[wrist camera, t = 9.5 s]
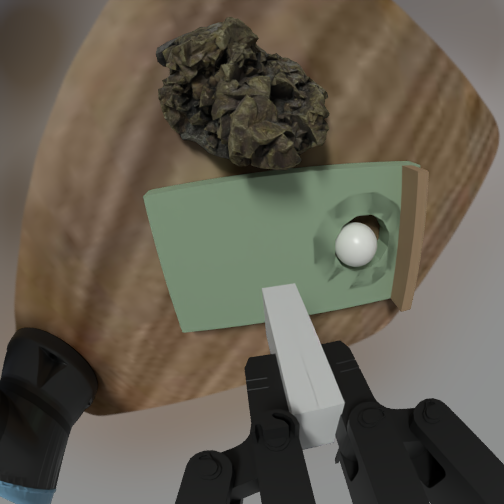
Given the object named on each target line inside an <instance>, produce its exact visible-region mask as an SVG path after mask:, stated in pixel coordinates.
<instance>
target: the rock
mask: <svg viewBox="0 0 504 504" xmlns="http://www.w3.org/2000/svg"><path fill="white" fill-rule="evenodd" d="M257 40H258V37H257V35H255V34H254V33H252V31H251V29H250V28H249V27H248V26H246V25H245V24H244V23H243V22H242V21H241V20H239V19H235V18H232V17H228V18H226V19H225V21H224V22H220V23H216V24H213V25H210V26H208V27H200V28H198V29H196V30H194V31H192V32H190V33H187V34H184V35H182V36H180V37H178V38H175V39H173V40H171V41H169V42H166V43H165V44H163V45H161V46H160V47H158V48H157V51H156V57H157V60H158V62H159V63H160V64H161V65H163V66H165V67H168V68H170V75H169V77H168V78H166V79H164V80H162V81H163V84H164V86H163V88H161V89H158V95H159V100H160V104H161V108H162V111H163V115H164V117H165V119H166V120H167V121H168V123H169V125H170V127H171V128H172V129H173V130H175V131H176V132H177V133H179V134H180V136H181V138H182V140H191V141H194V142H197V143H198V144H199V145H200V146H202V147H203V148H204V149H205V150H206V151H207V152H208V153H211V154H213V155H216V156H218V157H223V158H227V159H230V160H231V162H232V163H234V164H236V165H238V166H248V165H250V164H251V165H252V166H255V167H257V168H265V169H273V170H275V171H278V170H288V169H291V168H292V167H294V166H296V165H298V164H299V163H300V162H301V160H302V159H301V158H300V157H299V156H300V154H301V153H303V152H305V151H306V150H308V149H309V148H312V147H314V146H322V145H323V143H324V142H325V139H326V132H327V131H328V130H329V128H328V125H327V123H326V122H325V120H324V118H327V117H328V116H329V112H328V110H327V109H326V107H325V105H324V104H325V99H326V98H328V95H327V92H326V91H325V90H324V89H323V88H322V87H321V86H319V85H318V84H317V83H315V82H314V81H313V80H312V79H310V77H307V76H306V74H305V72H304V71H303V69H302V68H301V66H300V65H299V64H298V63H297V62H294V61H292V60H290V59H289V58H282V57H281V56H279V55H278V54H277V53H276V54H273V55H271V54H267V53H266V52H265V51H264V50H262V49H261V48H260V47H258V46H257V45H256V42H257Z"/></svg>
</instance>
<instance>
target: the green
mask: <svg viewBox="0 0 504 504" xmlns="http://www.w3.org/2000/svg"><path fill="white" fill-rule="evenodd" d="M428 178H429V171H427V170H424V169H422V168H420V165H418V164H416V163H413V162H410V161H393V162H368V163H350V164H336V165H323V166H311V167H301V168H291V169H288V170H278V171H275V170H273V171H264V172H257V173H249V174H242V175H235V176H228V177H221V178H215V179H208V180H202V181H196V182H191V183H185V184H179V185H174V186H169V187H163V188H158V189H153V190H149V191H148V192H147V193H146V194H145V195H144V196H143V198H144V202H145V206H146V210H147V214H148V218H149V222H150V226H151V230H152V234H153V238H154V241H155V245H156V249H157V252H158V256H159V259H160V263H161V266H162V270H163V273H164V277H165V280H166V283H167V286H168V290H169V293H170V296H171V299H172V302H173V305H174V308H175V311H176V314H177V317H178V320H179V323H180V326H181V329H182V332H193V331H202V330H211V329H219V328H227V327H235V326H243V325H250V324H257V323H264V322H265V316H264V306H263V296H262V288H267V287H274V286H280V285H287V284H293V283H295V285H296V287H297V289H298V292H299V294H300V296H301V298H302V301H303V303H304V305H305V308H306V310H307V313H308V315H312V314H317V313H323V312H328V311H333V310H338V309H343V308H348V307H353V306H358V305H362V304H367V303H371V302H376V301H380V300H385V299H389V298H391V299H392V301H393V302H394V303H395V305H396V306H397V307H398V309H399V310H400V311H401V312H402V311H406V310H410V309H411V305H412V300H413V296H414V291H415V286H416V281H417V275H418V270H419V264H420V258H421V251H422V244H423V237H424V228H425V219H426V209H427V196H428ZM370 214H372V215H374V216H375V217H376V219H377V221H378V223H379V225H380V227H379V239H378V241H377V250H376V253H375V255H374V257H373V258H372V260H371V261H370V262H369V263H367V264H365V265H363V266H359V267H352V266H349V265H346V264H344V263H343V262H342V261H341V260H340V259H339V258H338V257H336V256H335V240H336V238H337V236H338V234H339V233H340V231H341V229H342V227H343V226H344V225H345V224H346V223H348V222H349V221H350V220H352V219H353V218H355V217H356V216H362V215H370Z"/></svg>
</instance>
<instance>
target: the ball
mask: <svg viewBox="0 0 504 504" xmlns="http://www.w3.org/2000/svg"><path fill="white" fill-rule="evenodd" d="M376 250H377V239H376V236H375V234H374V232H373V231H372V230H371V229H370V228H369V227H368V226H367V225H365V224H362V223H358V222H353V223H349V224H346V225H344V226H343V227H342V229H341V231H340V233H339V234H338V236H337V238H336V240H335V252H336V255H337V257H338V258H339V259H340V260H341V261H342V262H343V263H344V264H346V265H349V266H352V267H359V266H363V265H365V264H367V263H369V262H370V261H371V260H372V258H373V257H374V255H375V253H376Z"/></svg>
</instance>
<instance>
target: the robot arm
mask: <svg viewBox="0 0 504 504" xmlns="http://www.w3.org/2000/svg"><path fill="white" fill-rule="evenodd" d="M262 296H263V306H264V316H265V326H266V335H267V339H268V344H269V348H270V353H271V354H270V355H263V356H257V357H250V358H249V359H248V361H247V364H246V366H245V376H246V384H247V392H248V401H249V409H250V416H251V430H250V435H249V436H248V438H247V439H246V440H245V441H244V442H243V443H242V444H240V445H238V446H236V447H234V448H232V449H229V450H227V451H224V452H221V453H220V452H217V451H213V450H211V451H202V452H199V453H197V454H195V455H194V456H193V457H192V458H190V460H189V462H188V463H187V466H186V469H185V472H184V475H183V479H182V482H181V485H180V489H179V492H178V495H177V499H176V502H175V504H243V498H245V497H247V496H250V495H252V494H254V493H257V492H260V495H261V502H262V504H316V503H315V499H314V495H313V491H312V487H311V483H310V479H309V475H308V471H307V467H306V463H305V459H304V455H303V451H302V450H304V449H308V448H313V447H318V446H321V445H326V444H330V443H334V441H335V437H336V439H337V442H338V445H339V449H338V452H337V455H336V458H335V463H338V462H339V460H340V463H341V467H342V470H343V473H344V476H345V479H346V483H347V486H348V489H349V492H350V496H351V499H352V502H353V504H430V503H431V504H504V464H503V463H502V462H501V461H500V460H499V459H498V458H497V457H496V456H495V455H494V454H493V453H492V451H490V449H489V448H488V447H487V446H486V445H485V444H484V443H483V442H482V441H481V440H480V439H479V438H478V437H477V436H476V435H475V434H474V433H473V432H472V431H471V430H470V429H469V428H468V427H467V426H466V425H465V423H464V422H463V421H462V420H461V419H460V418H459V417H458V416H456V414H454V412H453V411H452V410H451V409H450V408H449V407H448V406H447V405H445V403H443V402H442V401H440V400H437V399H434V398H432V399H425V400H423V401H421V402H420V403H419V404H418V405H417V406H416V407H415V408H410V409H390V408H386V407H384V406H382V405H380V404H379V403H378V402H377V401H376V400H375V398H374V396H373V394H372V392H371V390H370V388H369V386H368V384H367V382H366V380H365V378H364V376H363V374H362V372H361V370H360V369H359V366H358V364H357V362H356V360H355V358H354V356H353V354H352V352H351V350H350V348H349V347H348V346H346V345H345V344H344V343H343V342H341V341H335V342H330V343H326V344H321V343H320V341H319V339H318V336H317V334H316V331H315V329H314V327H313V324H312V322H311V320H310V317H309V315H308V313H307V310H306V308H305V305H304V303H303V301H302V298H301V296H300V294H299V292H298V289H297V287H296V285H295V283H293V284H287V285H280V286H274V287H267V288H262ZM97 388H98V383H97V379H96V376H95V374H94V372H93V370H92V369H91V367H90V366H89V365H88V363H87V362H86V361H85V360H84V359H83V358H82V357H81V356H80V355H79V354H78V353H77V352H76V351H75V350H74V349H73V348H71V347H70V346H69V345H68V344H66V343H65V342H63V341H62V340H60V339H59V338H57V337H55V336H53V335H51V334H49V333H47V332H45V331H42V330H39V329H35V328H22V329H19V330H18V331H17V332H16V333H15V334H14V335H13V337H12V338H11V340H10V342H9V344H8V346H7V352H6V356H5V360H4V364H3V369H2V375H1V379H0V496H1V497H3V498H5V499H7V500H9V501H11V502H13V503H15V504H51V501H52V498H53V494H54V493H55V491H56V485H57V481H58V476H59V472H60V467H61V464H62V460H63V456H64V452H65V448H66V445H67V441H68V437H69V434H70V431H71V428H72V426H73V425H74V423H75V422H76V421H77V420H78V419H79V417H80V416H81V415H82V413H83V412H84V410H85V409H86V408H88V407H89V406H90V405H91V404H92V402H93V400H94V398H95V395H96V392H97ZM429 502H430V503H429Z"/></svg>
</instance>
